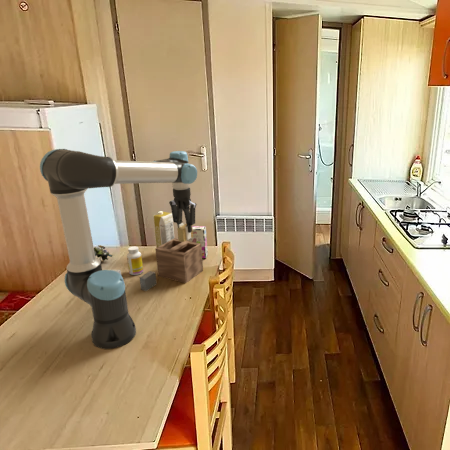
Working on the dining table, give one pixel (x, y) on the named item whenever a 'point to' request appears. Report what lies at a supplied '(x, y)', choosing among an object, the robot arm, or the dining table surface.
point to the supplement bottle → (134, 261)
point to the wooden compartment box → (179, 260)
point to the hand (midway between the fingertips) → (185, 238)
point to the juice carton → (163, 228)
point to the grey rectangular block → (148, 280)
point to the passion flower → (101, 252)
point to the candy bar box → (200, 238)
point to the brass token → (183, 233)
